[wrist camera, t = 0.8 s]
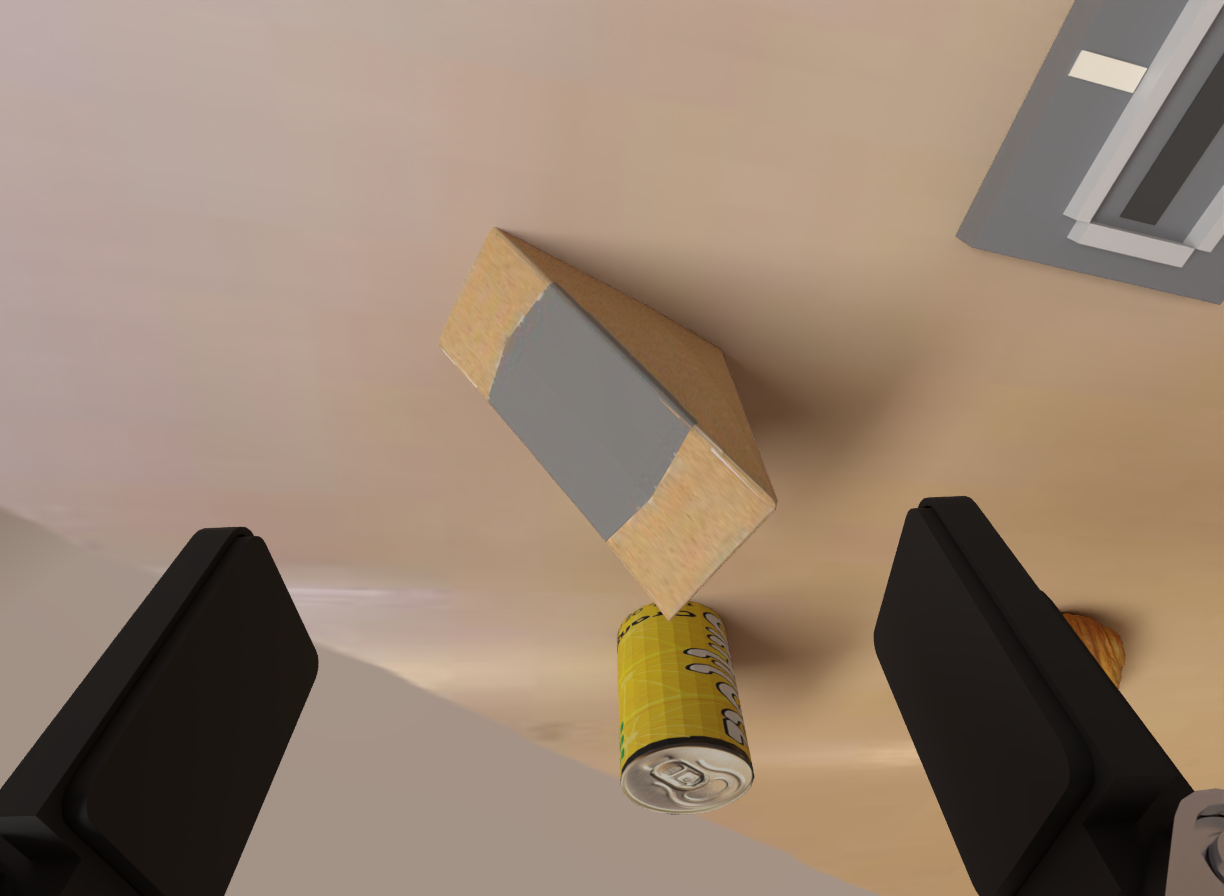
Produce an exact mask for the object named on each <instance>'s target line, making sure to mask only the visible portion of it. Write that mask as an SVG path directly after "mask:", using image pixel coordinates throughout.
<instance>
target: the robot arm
mask: <svg viewBox="0 0 1224 896" xmlns="http://www.w3.org/2000/svg"><path fill="white" fill-rule="evenodd" d="M874 646H875V650H876V654H877V657H878V659H879V662H880V664H881V666H882V669H883V671H884V674H885V676H886V678H887V681H888V683H889V686H890V688H891V690H892V693H893V695H894V698H895V700H896V702H897V705H898V707H899V709H900V712H901V714H902V717H903V719H904V721H905V724H906V726H907V729H908V731H909V733H910V736H911V738H912V741H913V743H914V745H915V748H916V750H917V753H918V755H919V757H920V760H921V762H922V765H923V767H924V769H925V772H926V774H927V776H928V779H929V781H930V784H931V786H932V788H933V791H934V793H935V796H936V798H937V800H938V803H939V805H940V808H941V810H942V812H943V815H944V817H945V820H946V822H947V824H948V827H949V829H950V831H951V834H952V836H953V839H954V841H955V843H956V846H957V848H958V851H959V853H960V855H961V858H962V860H963V863H964V865H965V867H966V870H967V872H968V875H969V877H970V879H971V882H972V884H973V886H974V888H975V890H976V891H977V893H978V894H979V896H1224V790H1222V789H1208V790H1200V791H1195V792H1194V790H1193V789H1192V788H1191V786H1190V785H1189V784H1188V782H1187V781H1186V780H1185V778H1184V777H1183V776H1182V774H1181V773H1180V772H1179V770H1178V769H1177V767H1176V766H1175V765H1174V763H1173V762H1172V761H1171V759H1170V758H1169V757H1168V755H1167V754H1166V753H1165V751H1164V750H1163V749H1162V747H1161V746H1160V745H1159V743H1158V742H1157V741H1156V739H1155V738H1154V737H1153V735H1152V734H1151V733H1150V731H1149V730H1148V729H1147V727H1146V726H1145V725H1144V723H1143V722H1142V721H1141V719H1140V718H1139V717H1138V715H1137V714H1136V713H1135V711H1134V710H1133V709H1132V707H1131V706H1130V705H1129V703H1128V702H1127V701H1126V699H1125V698H1124V696H1123V695H1122V694H1121V692H1120V691H1119V690H1118V688H1117V687H1116V686H1115V684H1114V683H1113V682H1112V680H1111V679H1110V678H1109V676H1108V675H1107V674H1106V672H1105V671H1104V670H1103V668H1102V667H1101V666H1100V664H1099V663H1098V662H1097V660H1096V659H1095V658H1094V656H1093V655H1092V654H1091V652H1090V651H1089V650H1088V648H1087V647H1086V646H1085V644H1084V643H1083V642H1082V640H1081V639H1080V638H1079V636H1078V635H1077V634H1076V632H1075V631H1074V630H1073V628H1072V627H1071V625H1070V624H1069V623H1068V621H1067V620H1066V619H1065V617H1064V616H1063V615H1062V613H1061V612H1060V611H1059V609H1058V608H1057V607H1056V605H1055V604H1054V603H1053V601H1052V600H1051V599H1050V598H1049V597H1048V596H1047V595H1046V594H1045V593H1044V592H1043V591H1041V590H1040V589H1039V588H1038V587H1037V585H1036V584H1035V583H1034V581H1033V580H1032V578H1031V577H1030V576H1029V574H1028V573H1027V572H1026V570H1025V569H1024V568H1023V566H1022V565H1021V564H1020V562H1019V561H1018V560H1017V558H1016V557H1015V556H1014V554H1013V553H1012V551H1011V550H1010V549H1009V547H1008V546H1007V545H1006V543H1005V542H1004V541H1003V539H1002V538H1001V537H1000V535H999V534H998V533H997V531H996V530H995V528H994V527H993V526H992V524H991V523H990V522H989V520H988V519H987V518H986V516H985V515H984V514H983V512H982V511H981V510H980V508H979V507H978V505H977V504H976V503H975V502H974V501H973V500H972V499H971V498H969V497H967V496H954V497H930V498H924V499H923V500H922V501H921V502H920V504H919V506H918V508H913V509H910V510H909V511H908V513H907V516H906V519H905V523H904V526H903V530H902V533H901V537H900V540H899V544H898V548H897V551H896V555H895V558H894V562H893V565H892V569H891V573H890V576H889V580H888V583H887V587H886V590H885V594H884V598H883V601H882V605H881V608H880V612H879V615H878V619H877V623H876V626H875V630H874ZM317 671H318V655H317V652H316V649H315V647H314V645H313V643H312V641H311V639H310V637H309V635H308V632H307V630H306V628H305V626H304V624H303V622H302V620H301V618H300V616H299V613H298V611H297V609H296V607H295V605H294V603H293V601H292V599H291V596H290V594H289V592H288V590H287V588H286V586H285V584H284V582H283V580H282V577H281V575H280V573H279V571H278V569H277V567H276V565H275V563H274V560H273V558H272V556H271V554H270V552H269V550H268V548H267V546H266V544H265V542H264V540H263V539H262V538H261V537H259V536H254V535H253V533H252V532H251V531H250V530H249V529H248V528H246V527H224V528H204V529H201V530H199V531H197V532H196V533H195V534H194V535H193V536H192V538H191V539H190V540H189V542H188V543H187V544H186V546H185V547H184V548H183V550H182V551H181V552H180V554H179V555H178V556H177V558H176V559H175V560H174V561H173V563H172V564H171V565H170V567H169V568H168V569H167V571H166V572H165V573H164V575H163V576H162V577H161V579H160V580H159V581H158V583H157V584H156V585H155V587H154V588H153V589H152V591H151V592H150V593H149V595H148V596H147V597H146V598H145V600H144V601H143V602H142V604H141V605H140V606H139V608H138V609H137V610H136V612H135V613H134V614H133V615H132V617H131V618H130V619H129V621H128V622H127V623H126V625H125V626H124V627H123V629H122V630H121V631H120V633H119V634H118V635H117V637H116V638H115V639H114V640H113V642H112V643H111V644H110V646H109V647H108V648H107V650H106V651H105V652H104V654H103V655H102V656H101V657H100V659H99V660H98V661H97V663H96V664H95V665H94V667H93V668H92V669H91V671H90V672H89V673H88V675H87V676H86V677H85V679H84V680H83V681H82V682H81V684H80V685H79V686H78V688H77V689H76V690H75V692H74V693H73V694H72V696H71V697H70V698H69V700H68V701H67V702H66V704H65V705H64V706H63V707H62V709H61V710H60V711H59V713H58V714H57V716H56V717H55V718H54V719H53V721H52V722H51V723H50V725H49V726H48V727H47V729H46V730H45V731H44V732H43V734H42V735H41V736H40V738H39V739H38V740H37V742H36V743H35V744H34V746H33V747H32V748H31V750H30V751H29V752H28V753H27V755H26V756H25V757H24V759H23V760H22V761H21V763H20V764H19V765H18V767H17V768H16V769H15V771H14V772H13V773H12V775H11V776H10V777H9V778H8V780H7V781H6V782H5V784H4V785H3V786H2V788H1V789H0V896H224V895H225V892H226V890H227V888H228V885H229V883H230V881H231V878H232V876H233V873H234V871H235V869H236V866H237V864H238V861H239V859H240V857H241V854H242V852H243V850H244V847H245V845H246V843H247V840H248V838H249V835H250V833H251V831H252V828H253V826H254V823H255V821H256V819H257V816H258V814H259V812H260V809H261V807H262V804H263V802H264V800H265V797H266V795H267V793H268V790H269V788H270V785H271V783H272V781H273V778H274V776H275V774H276V771H277V769H278V767H279V764H280V762H281V759H282V757H283V755H284V752H285V750H286V748H287V745H288V743H289V740H290V738H291V736H292V733H293V731H294V729H295V726H296V724H297V721H298V719H299V717H300V714H301V712H302V710H303V707H304V705H305V702H306V700H307V698H308V695H309V693H310V691H311V688H312V686H313V683H314V681H315V679H316V675H317Z"/></svg>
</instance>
